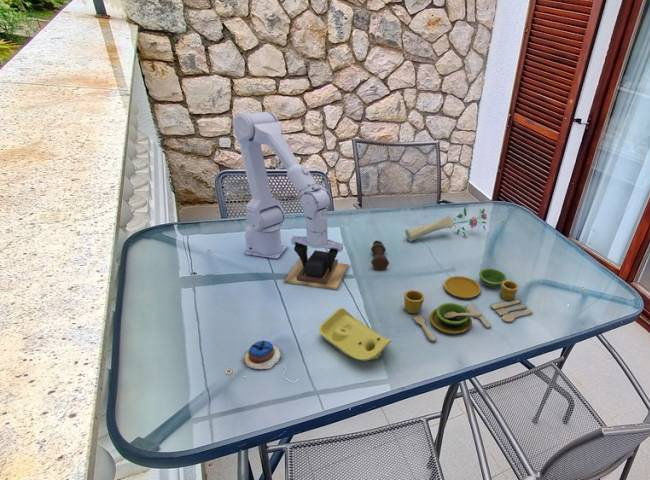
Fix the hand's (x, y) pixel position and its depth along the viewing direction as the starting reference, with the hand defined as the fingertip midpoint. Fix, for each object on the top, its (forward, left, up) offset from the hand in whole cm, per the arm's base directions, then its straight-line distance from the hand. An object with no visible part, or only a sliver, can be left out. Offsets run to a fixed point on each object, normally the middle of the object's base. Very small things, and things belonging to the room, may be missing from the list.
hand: (318, 266), depth 132 cm
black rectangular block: (0, 0, -2) cm, 2 cm away
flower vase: (+38, +41, -3) cm, 56 cm away
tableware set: (+48, -5, -3) cm, 48 cm away
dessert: (-1, -39, -3) cm, 39 cm away
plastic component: (+19, -31, -3) cm, 36 cm away
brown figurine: (+16, +15, -3) cm, 22 cm away
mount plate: (0, 0, -3) cm, 3 cm away
